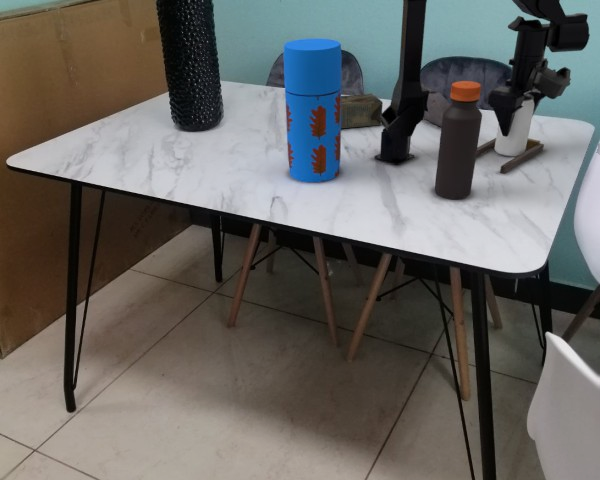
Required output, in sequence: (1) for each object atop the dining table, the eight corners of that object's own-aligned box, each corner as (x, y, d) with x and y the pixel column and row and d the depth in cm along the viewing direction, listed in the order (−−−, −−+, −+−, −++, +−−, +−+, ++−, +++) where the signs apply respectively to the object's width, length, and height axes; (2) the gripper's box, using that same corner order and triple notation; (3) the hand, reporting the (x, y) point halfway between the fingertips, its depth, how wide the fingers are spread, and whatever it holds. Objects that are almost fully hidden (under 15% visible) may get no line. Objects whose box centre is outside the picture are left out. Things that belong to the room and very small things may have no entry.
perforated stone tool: (458, 130, 138) (462, 101, 134) (438, 133, 137) (441, 103, 133) (431, 112, 150) (434, 85, 146) (413, 115, 149) (415, 87, 145)
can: (518, 159, 122) (529, 103, 115) (489, 153, 125) (498, 98, 118) (529, 149, 126) (540, 94, 119) (500, 144, 129) (510, 89, 122)
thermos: (347, 166, 122) (350, 40, 107) (328, 185, 114) (328, 52, 99) (301, 160, 126) (297, 37, 111) (279, 178, 118) (272, 48, 103)
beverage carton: (382, 125, 143) (384, 98, 139) (308, 133, 140) (307, 106, 136) (373, 116, 149) (374, 90, 145) (301, 123, 146) (300, 97, 142)
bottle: (477, 191, 109) (494, 83, 98) (458, 203, 106) (473, 92, 94) (446, 182, 113) (459, 77, 102) (427, 193, 110) (438, 85, 98)
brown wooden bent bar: (504, 173, 116) (506, 164, 115) (461, 161, 122) (462, 152, 121) (542, 150, 126) (544, 141, 125) (501, 140, 132) (502, 132, 130)
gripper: (546, 68, 104) (530, 151, 113) (589, 50, 115) (571, 127, 124) (491, 60, 111) (480, 139, 120) (536, 43, 122) (522, 117, 131)
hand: (515, 130), depth 123 cm, fingers open, 9 cm apart
